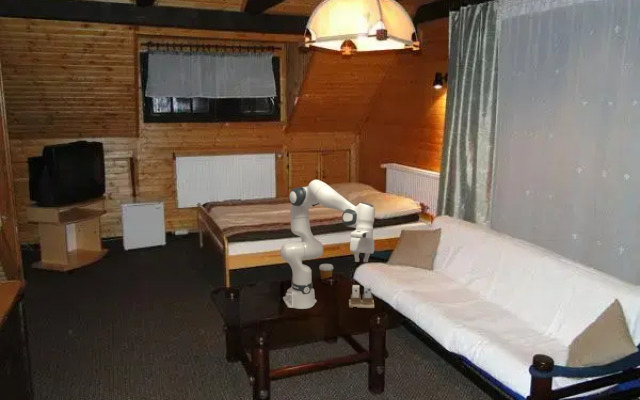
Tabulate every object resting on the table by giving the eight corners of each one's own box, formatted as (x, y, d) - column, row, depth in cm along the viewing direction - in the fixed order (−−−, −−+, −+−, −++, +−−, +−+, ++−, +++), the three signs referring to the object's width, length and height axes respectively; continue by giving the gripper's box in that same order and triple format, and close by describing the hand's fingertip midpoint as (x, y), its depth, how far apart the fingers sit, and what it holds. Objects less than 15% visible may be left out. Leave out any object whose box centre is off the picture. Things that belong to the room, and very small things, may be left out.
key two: (364, 297, 320) (364, 285, 318) (370, 297, 320) (370, 285, 318) (364, 299, 316) (364, 287, 314) (371, 299, 315) (371, 288, 314)
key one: (352, 296, 320) (352, 285, 319) (359, 297, 320) (359, 285, 318) (352, 299, 316) (352, 287, 315) (359, 299, 316) (359, 287, 314)
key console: (349, 301, 324) (349, 293, 322) (373, 301, 323) (373, 293, 322) (349, 307, 315) (349, 299, 314) (374, 307, 314) (374, 299, 313)
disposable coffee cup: (320, 280, 360) (320, 263, 357) (334, 280, 359) (334, 263, 356) (318, 285, 351) (318, 267, 348) (332, 285, 349) (332, 268, 347)
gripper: (367, 235, 281) (365, 261, 280) (349, 232, 264) (346, 260, 263) (378, 236, 278) (375, 262, 277) (360, 234, 260) (357, 262, 259)
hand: (361, 261), depth 270 cm, fingers open, 8 cm apart
